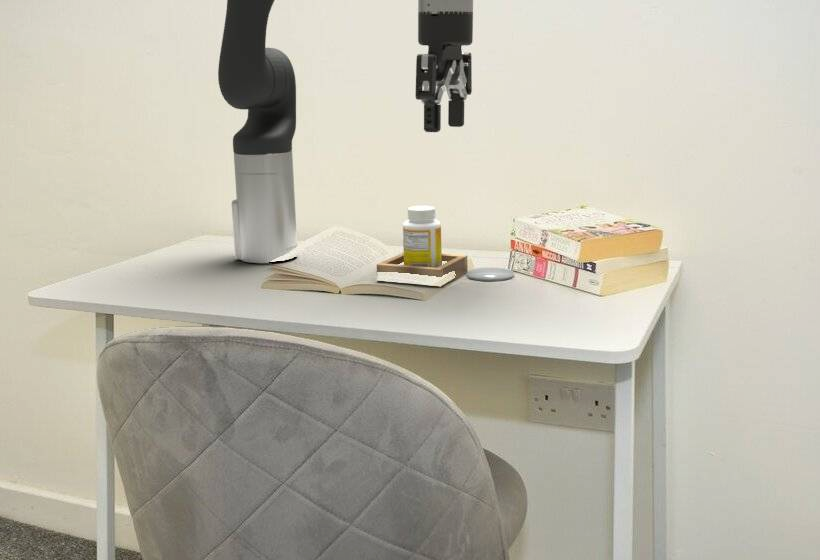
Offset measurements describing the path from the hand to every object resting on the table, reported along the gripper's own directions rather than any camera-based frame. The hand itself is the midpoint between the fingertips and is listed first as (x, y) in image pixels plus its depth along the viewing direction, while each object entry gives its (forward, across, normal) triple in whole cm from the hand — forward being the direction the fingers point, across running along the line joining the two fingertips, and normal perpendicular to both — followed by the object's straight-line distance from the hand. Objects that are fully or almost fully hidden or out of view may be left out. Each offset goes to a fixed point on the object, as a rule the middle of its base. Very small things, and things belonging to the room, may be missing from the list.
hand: (444, 129), depth 135 cm
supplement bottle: (+22, +1, -3) cm, 22 cm away
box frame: (+22, +1, -3) cm, 22 cm away
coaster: (+21, -3, +6) cm, 22 cm away
